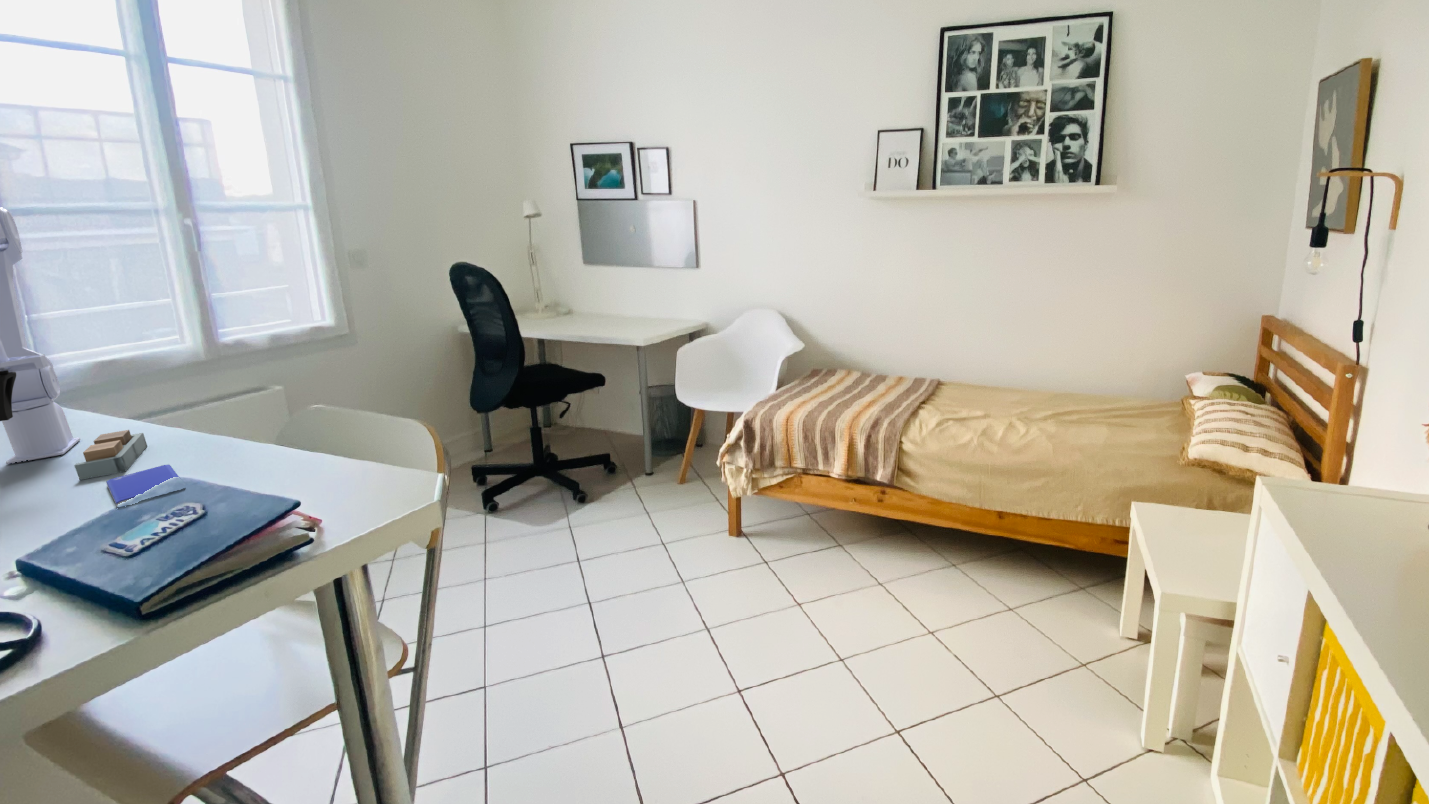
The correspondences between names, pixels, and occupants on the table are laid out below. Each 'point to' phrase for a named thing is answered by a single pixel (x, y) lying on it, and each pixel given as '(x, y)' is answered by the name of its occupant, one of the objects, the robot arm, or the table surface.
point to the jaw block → (103, 450)
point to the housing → (113, 460)
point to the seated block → (114, 437)
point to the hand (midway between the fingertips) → (5, 419)
